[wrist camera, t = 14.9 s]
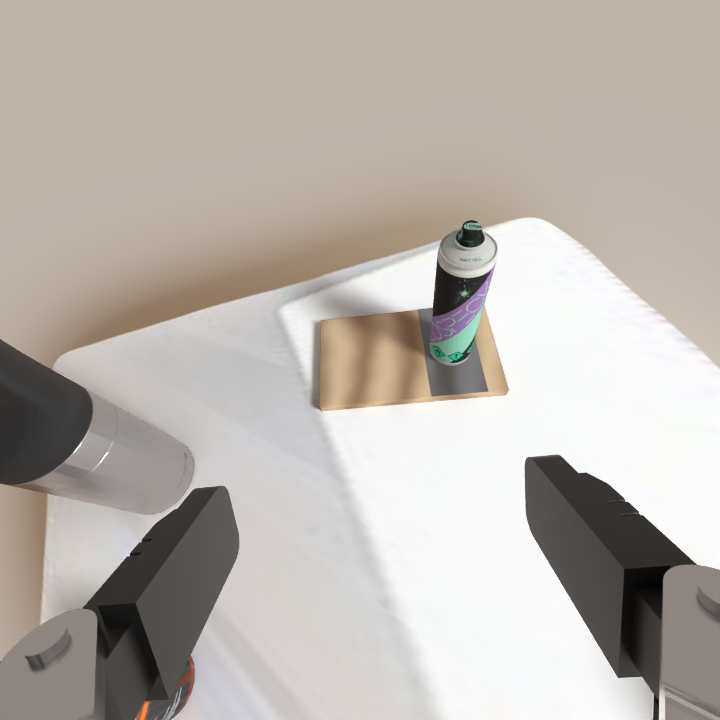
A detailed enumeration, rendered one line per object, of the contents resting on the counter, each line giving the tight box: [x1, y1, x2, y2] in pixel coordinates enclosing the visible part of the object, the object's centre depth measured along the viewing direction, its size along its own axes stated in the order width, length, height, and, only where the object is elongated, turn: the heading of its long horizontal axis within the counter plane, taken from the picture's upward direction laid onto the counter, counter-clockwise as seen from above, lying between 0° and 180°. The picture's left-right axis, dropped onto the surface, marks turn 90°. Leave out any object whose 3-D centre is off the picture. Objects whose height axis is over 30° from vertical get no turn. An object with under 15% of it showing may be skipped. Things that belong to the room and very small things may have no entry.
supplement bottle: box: [136, 655, 195, 720], centre depth 30 cm, size 6×6×11 cm
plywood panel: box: [320, 305, 509, 411], centre depth 50 cm, size 24×14×2 cm, turn 93°
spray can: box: [430, 220, 498, 366], centre depth 40 cm, size 6×6×20 cm
